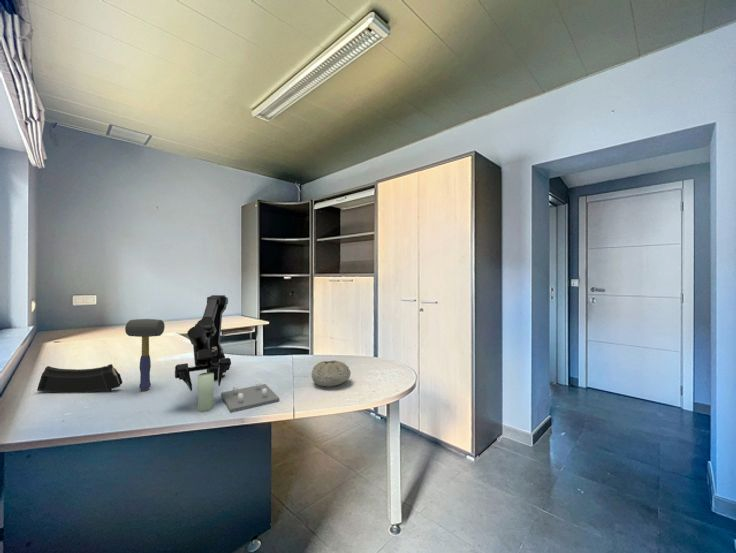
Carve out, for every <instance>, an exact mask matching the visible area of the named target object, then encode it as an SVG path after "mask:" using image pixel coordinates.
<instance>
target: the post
mask: <svg viewBox="0 0 736 553" xmlns="http://www.w3.org/2000/svg"><path fill="white" fill-rule="evenodd" d="M214 385H215V380H214V373H211V372H208V373H207V372H203V373H199V374H198V375H197V411H198V410H199V411H198V412H208V411H210V409H211V410H213V409H214V401H215V400H214V399H215V398H214V395H215V392H214V390H215V386H214ZM212 408H213V409H212ZM207 410H208V411H207Z"/></svg>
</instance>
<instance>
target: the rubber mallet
mask: <svg viewBox="0 0 736 553" xmlns="http://www.w3.org/2000/svg"><path fill="white" fill-rule="evenodd" d="M165 325H166V324H165V323H164V320H162V319H157V318H155V319H153V318H138V319H137V318H135V319H130V320H128V321H127V322H126V324H125V328H124V331H125V334H126V335H127V336H129V337H136V338H137V337H140V338H141V356H140V359H139V373H140V378H139V379H140V380H139V385H138V388H139V389H140V391H148V390H150V389H151V387H152V386H151V385H152V383H151V380H150V379H151V367H152V365H151V364H152V363H151V362H152V361H151V356H150V337H159V336H162V335H163V333H164V331H165Z"/></svg>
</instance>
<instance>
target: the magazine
mask: <svg viewBox="0 0 736 553" xmlns="http://www.w3.org/2000/svg"><path fill="white" fill-rule="evenodd" d="M122 384H123V379H122V377H121V373H119V372H118V370H117V369H116V368H115V367H114V366H113V364H112V363H111V364H108V365H104V366H101V367H96V368H94V367H93V368H85V369H84V368H83V369H72V368H68V369H67V368H58V367H53V366H49V365H47V366H46V367H45V368H44V370H43V372H42V373H41V376H40V379H39V382H38V386H37V388H36V391H43V392H50V393H51V392H52V393H64V394H83V393H84V394H85V393H96V392H103V391H109V392H110V393H111V392H112V391H113V389H116V388H119V387H121V385H122Z"/></svg>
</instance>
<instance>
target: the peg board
mask: <svg viewBox="0 0 736 553" xmlns="http://www.w3.org/2000/svg"><path fill="white" fill-rule="evenodd" d="M238 387H239V386H238V385H234V386H232V390H228V391H222V392H220V396H222V397H221V398H222V400H223V402H224V403H226V404H225V405H227V406H226V407H227V410H228V411H229V413H235V412H239V410H240V411H243V409H244V410H248V409H252V408H256V407H260V406H266V405H269V403H270V404H274V403H279V402H280V397H279V396H278V395H277V394H276V393H275V392H274V391H273V390H272V389H271V388H270V386H268V385H267V384H266V383H264V384H261V381H256V382H255V385H254V386H248V387H243V388H238ZM234 411H235V412H234Z"/></svg>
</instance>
